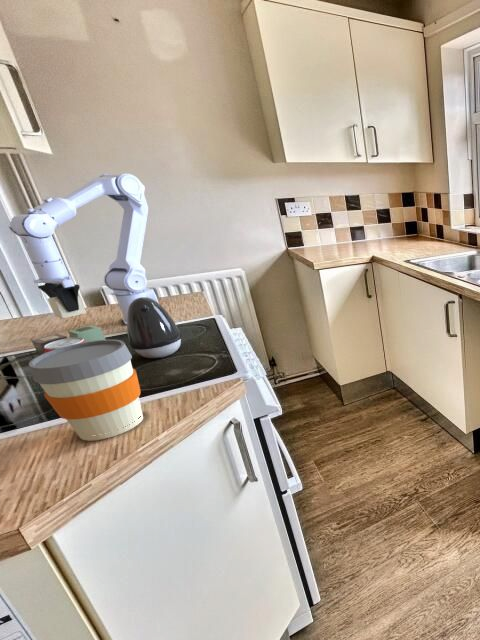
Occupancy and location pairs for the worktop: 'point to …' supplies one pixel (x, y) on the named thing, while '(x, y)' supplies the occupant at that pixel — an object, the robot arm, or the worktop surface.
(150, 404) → the worktop surface
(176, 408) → the worktop surface
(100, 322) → the worktop surface
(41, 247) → the robot arm
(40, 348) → the block
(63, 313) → the block
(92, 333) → the block
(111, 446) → the worktop surface
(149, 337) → the black egg shaped device
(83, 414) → the reusable coffee cup
